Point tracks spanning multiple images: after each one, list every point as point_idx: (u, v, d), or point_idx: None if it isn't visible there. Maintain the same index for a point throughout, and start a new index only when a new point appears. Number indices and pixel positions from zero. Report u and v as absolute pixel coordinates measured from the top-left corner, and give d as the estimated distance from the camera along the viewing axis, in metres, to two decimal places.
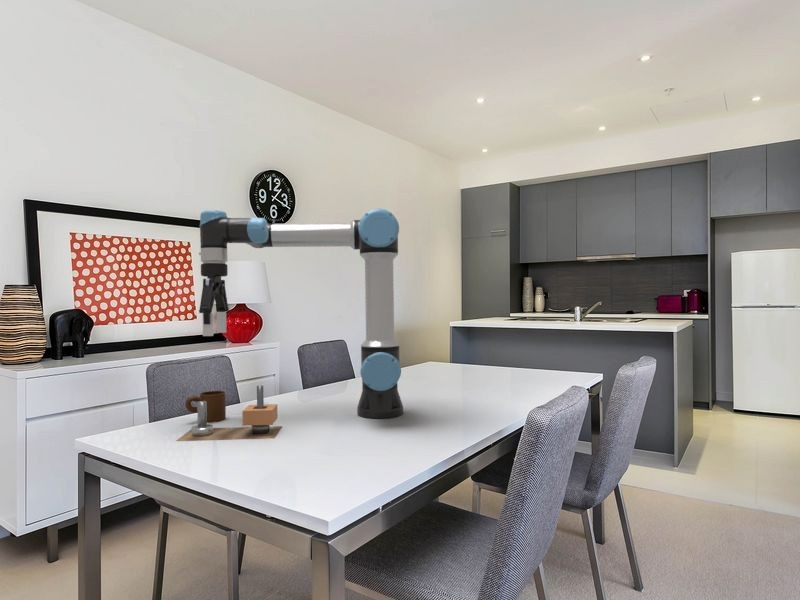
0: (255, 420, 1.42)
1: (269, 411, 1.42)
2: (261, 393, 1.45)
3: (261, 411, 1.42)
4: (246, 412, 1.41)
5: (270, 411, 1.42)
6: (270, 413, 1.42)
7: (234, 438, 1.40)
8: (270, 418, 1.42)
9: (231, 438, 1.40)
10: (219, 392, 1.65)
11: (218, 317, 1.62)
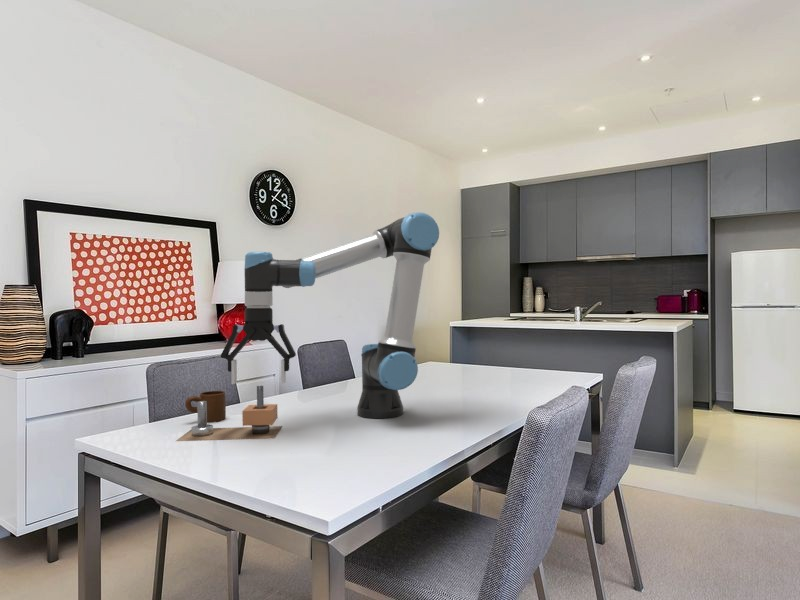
0: (255, 420, 1.42)
1: (269, 411, 1.42)
2: (261, 393, 1.45)
3: (261, 411, 1.42)
4: (246, 412, 1.41)
5: (270, 411, 1.42)
6: (270, 413, 1.42)
7: (234, 438, 1.40)
8: (270, 418, 1.42)
9: (231, 438, 1.40)
10: (219, 392, 1.65)
11: None
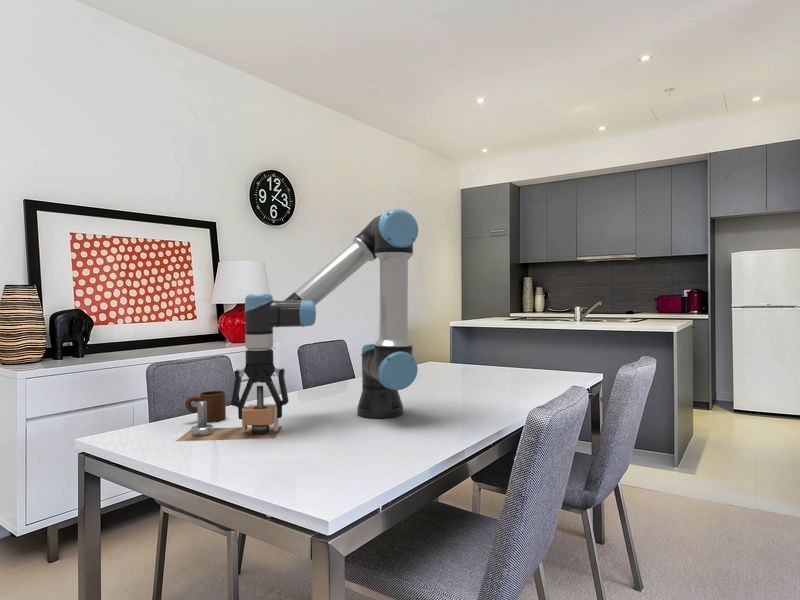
0: (255, 420, 1.42)
1: (269, 411, 1.42)
2: (261, 393, 1.45)
3: (261, 411, 1.42)
4: (246, 412, 1.41)
5: (270, 411, 1.42)
6: (270, 413, 1.42)
7: (234, 438, 1.40)
8: (270, 418, 1.42)
9: (231, 438, 1.40)
10: (219, 392, 1.65)
11: None
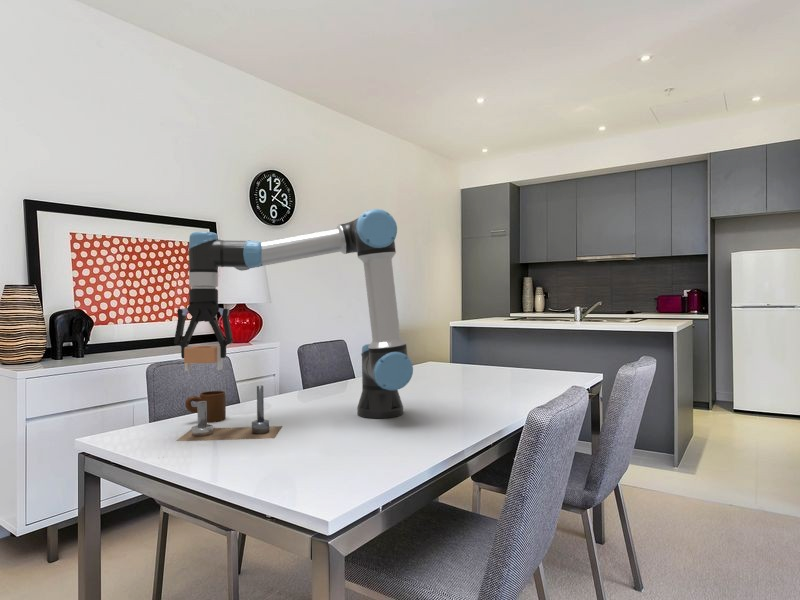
0: (197, 358, 1.40)
1: (211, 349, 1.41)
2: (261, 393, 1.45)
3: (203, 349, 1.41)
4: (188, 350, 1.40)
5: (212, 349, 1.41)
6: (212, 351, 1.41)
7: (234, 438, 1.40)
8: (212, 356, 1.41)
9: (231, 438, 1.40)
10: (219, 392, 1.65)
11: None
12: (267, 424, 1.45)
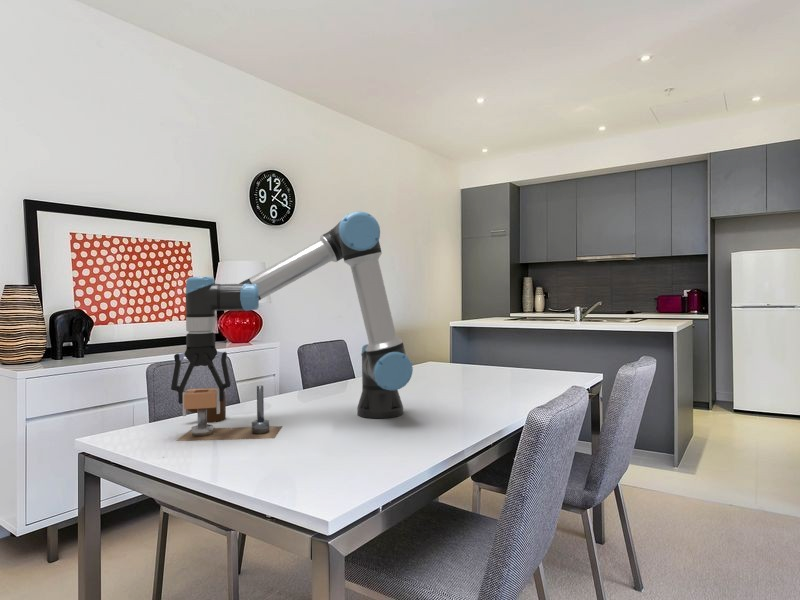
0: (197, 403, 1.41)
1: (212, 394, 1.42)
2: (261, 393, 1.45)
3: (204, 394, 1.41)
4: (188, 395, 1.40)
5: (213, 394, 1.42)
6: (213, 396, 1.42)
7: (234, 438, 1.40)
8: (213, 401, 1.42)
9: (231, 438, 1.40)
10: None
11: None
12: (267, 424, 1.45)
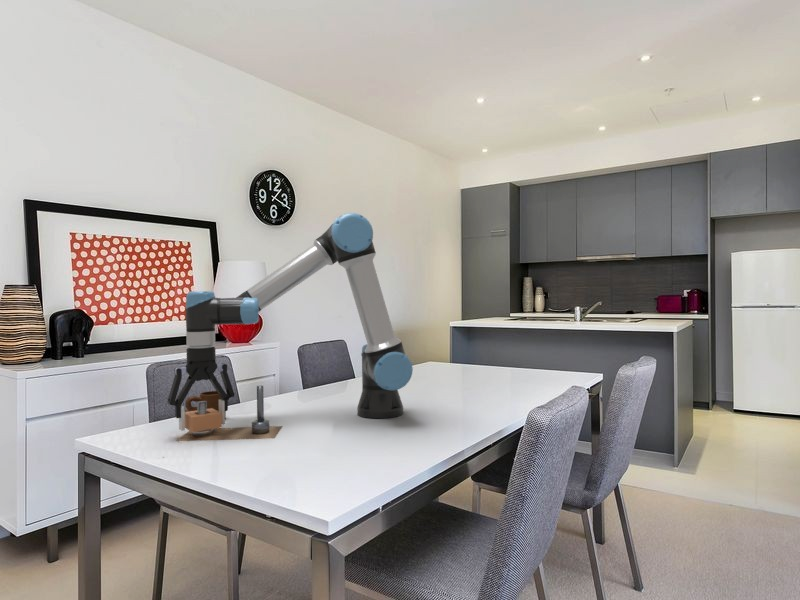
0: (205, 425, 1.41)
1: (219, 414, 1.44)
2: (261, 393, 1.45)
3: (211, 415, 1.42)
4: (196, 418, 1.40)
5: (220, 414, 1.44)
6: (220, 416, 1.44)
7: (234, 438, 1.40)
8: (220, 421, 1.44)
9: (231, 438, 1.40)
10: None
11: (219, 406, 1.48)
12: (267, 424, 1.45)
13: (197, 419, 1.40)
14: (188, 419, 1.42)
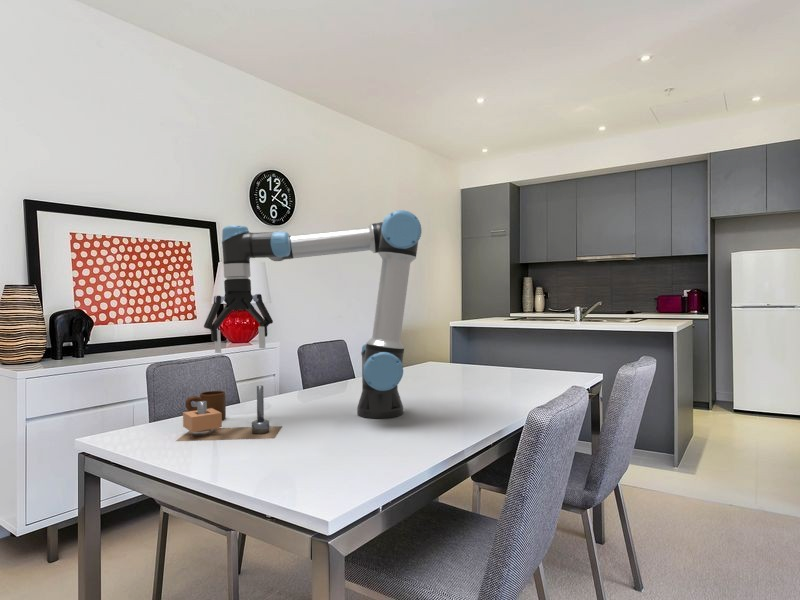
0: (205, 425, 1.41)
1: (219, 414, 1.44)
2: (261, 393, 1.45)
3: (211, 415, 1.42)
4: (196, 418, 1.40)
5: (220, 414, 1.44)
6: (220, 416, 1.44)
7: (234, 438, 1.40)
8: (220, 421, 1.44)
9: (231, 438, 1.40)
10: (219, 392, 1.65)
11: (259, 332, 1.59)
12: (267, 424, 1.45)
13: (197, 419, 1.40)
14: (188, 419, 1.42)
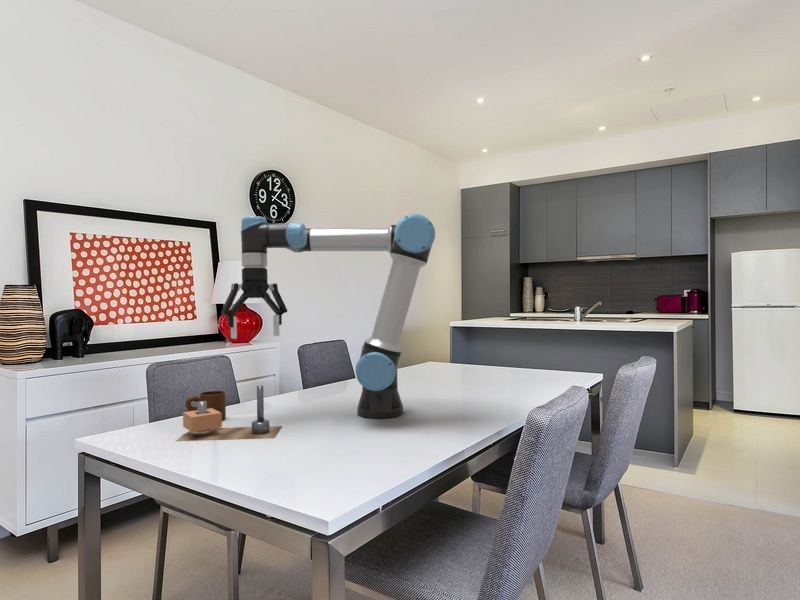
0: (205, 425, 1.41)
1: (219, 414, 1.44)
2: (261, 393, 1.45)
3: (211, 415, 1.42)
4: (196, 418, 1.40)
5: (220, 414, 1.44)
6: (220, 416, 1.44)
7: (234, 438, 1.40)
8: (220, 421, 1.44)
9: (231, 438, 1.40)
10: (219, 392, 1.65)
11: (273, 320, 1.64)
12: (267, 424, 1.45)
13: (197, 419, 1.40)
14: (188, 419, 1.42)
